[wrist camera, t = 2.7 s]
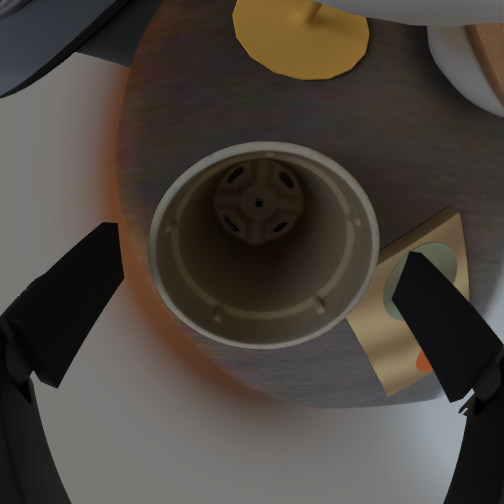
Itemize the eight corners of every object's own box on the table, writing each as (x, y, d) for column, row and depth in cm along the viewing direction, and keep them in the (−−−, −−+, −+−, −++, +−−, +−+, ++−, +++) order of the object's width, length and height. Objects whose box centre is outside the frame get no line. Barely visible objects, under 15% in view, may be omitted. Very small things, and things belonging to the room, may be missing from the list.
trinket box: (408, -25, 9) (475, -62, 1) (496, 43, 10) (567, 44, 2) (392, 73, 14) (487, 59, 5) (485, 135, 15) (566, 163, 7)
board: (326, 280, 21) (331, 292, 20) (449, 205, 18) (460, 212, 17) (384, 388, 29) (388, 397, 28) (463, 340, 26) (469, 348, 25)
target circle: (411, 349, 24) (412, 349, 24) (469, 310, 22) (470, 311, 22) (419, 379, 27) (419, 380, 27) (468, 347, 25) (469, 347, 25)
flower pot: (352, 173, 17) (420, 218, 10) (287, 280, 21) (303, 368, 13) (225, 107, 15) (202, 96, 8) (172, 231, 19) (128, 307, 12)
